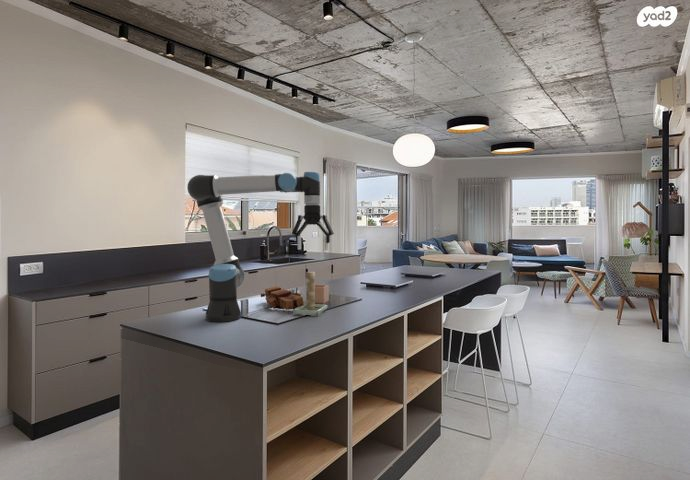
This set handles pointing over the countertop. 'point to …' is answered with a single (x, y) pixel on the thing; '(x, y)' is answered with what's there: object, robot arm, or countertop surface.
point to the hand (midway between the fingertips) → (312, 249)
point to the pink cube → (321, 293)
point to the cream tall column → (310, 291)
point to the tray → (309, 312)
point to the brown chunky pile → (282, 298)
